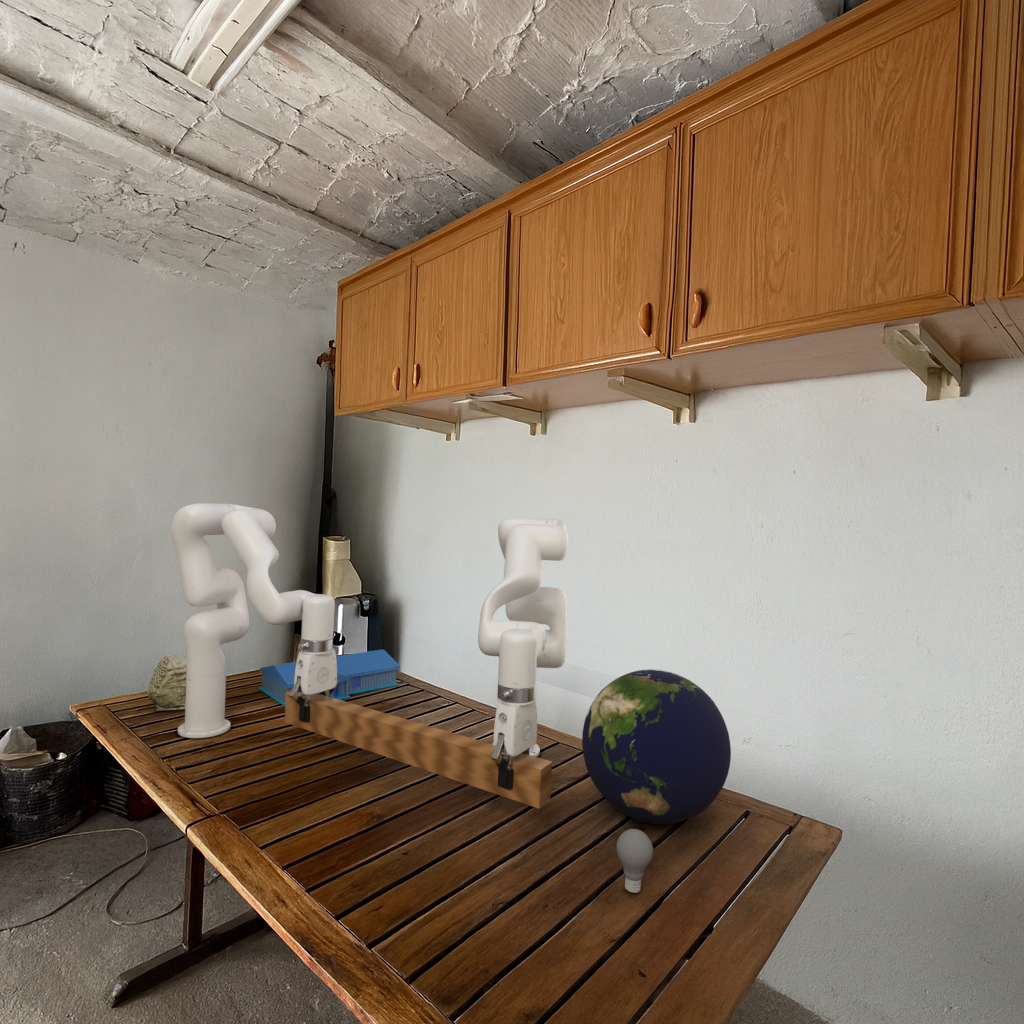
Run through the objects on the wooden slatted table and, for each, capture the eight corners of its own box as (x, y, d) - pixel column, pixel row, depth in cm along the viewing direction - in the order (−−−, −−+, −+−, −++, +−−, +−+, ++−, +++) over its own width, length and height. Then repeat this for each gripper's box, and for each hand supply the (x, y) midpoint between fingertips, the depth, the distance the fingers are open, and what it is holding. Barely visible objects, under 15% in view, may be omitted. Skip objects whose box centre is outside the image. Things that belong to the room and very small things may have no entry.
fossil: (144, 707, 182) (145, 655, 182) (212, 696, 194) (213, 647, 194) (151, 716, 175) (153, 662, 175) (221, 703, 188) (223, 653, 188)
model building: (289, 709, 186) (291, 675, 185) (258, 688, 204) (259, 657, 204) (403, 687, 212) (405, 657, 212) (366, 670, 230) (368, 643, 230)
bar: (284, 722, 158) (285, 692, 158) (299, 717, 162) (300, 688, 162) (538, 808, 121) (540, 769, 120) (550, 799, 125) (552, 761, 124)
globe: (560, 832, 123) (567, 679, 123) (598, 773, 151) (604, 648, 150) (721, 872, 112) (730, 704, 111) (731, 800, 140) (737, 665, 139)
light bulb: (610, 879, 108) (613, 822, 108) (644, 879, 109) (647, 822, 109) (619, 902, 102) (622, 840, 102) (655, 901, 103) (658, 840, 103)
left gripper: (299, 654, 147) (295, 731, 147) (353, 642, 161) (349, 712, 162) (278, 648, 151) (274, 724, 151) (332, 637, 165) (328, 706, 166)
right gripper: (510, 708, 117) (505, 805, 117) (553, 685, 131) (549, 772, 132) (476, 699, 120) (472, 793, 121) (521, 678, 135) (518, 762, 136)
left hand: (313, 717), depth 156 cm, fingers closed on bar, 4 cm apart
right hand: (512, 781), depth 127 cm, fingers closed on bar, 4 cm apart
